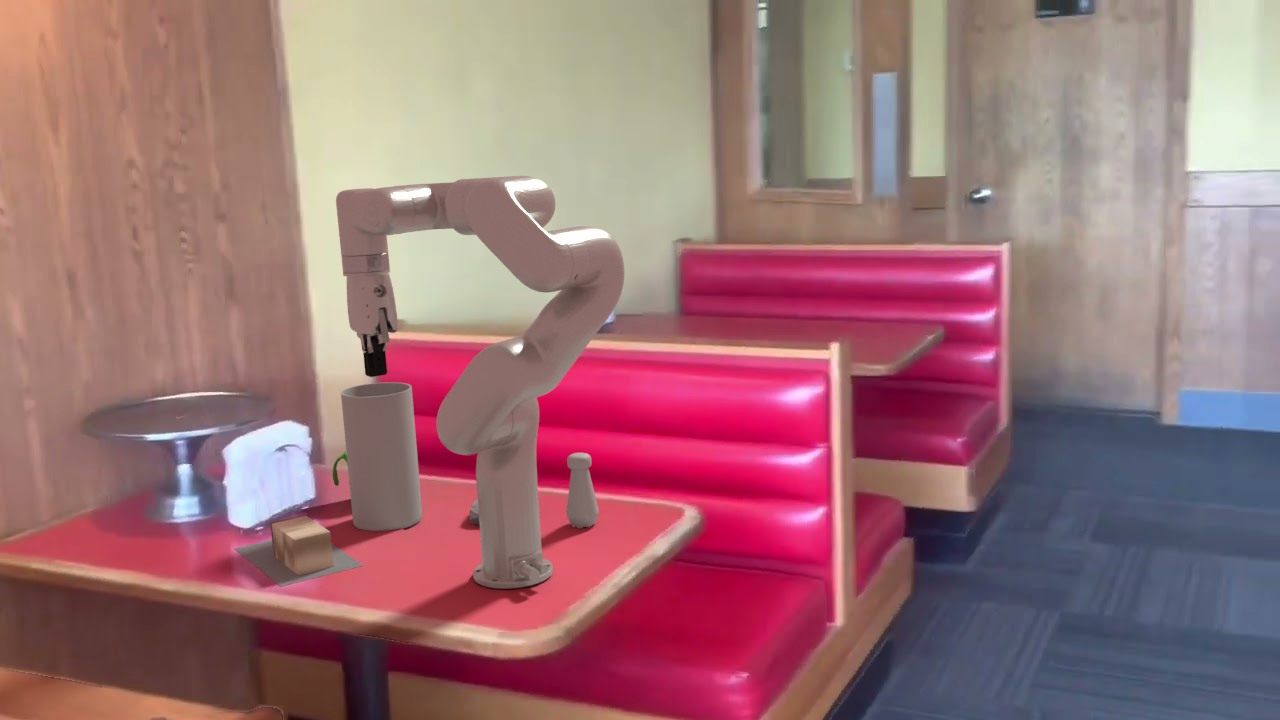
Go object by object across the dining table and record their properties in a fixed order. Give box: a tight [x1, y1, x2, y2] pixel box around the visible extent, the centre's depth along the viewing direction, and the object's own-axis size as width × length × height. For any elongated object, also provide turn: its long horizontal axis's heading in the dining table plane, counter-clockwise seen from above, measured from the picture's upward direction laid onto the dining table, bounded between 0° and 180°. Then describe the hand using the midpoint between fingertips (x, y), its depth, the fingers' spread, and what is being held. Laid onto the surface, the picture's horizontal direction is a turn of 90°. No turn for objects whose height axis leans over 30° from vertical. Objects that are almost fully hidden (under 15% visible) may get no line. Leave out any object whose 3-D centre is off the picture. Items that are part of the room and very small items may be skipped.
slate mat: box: [234, 539, 364, 587], centre depth 209 cm, size 24×14×1 cm, turn 35°
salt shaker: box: [565, 452, 600, 529], centre depth 219 cm, size 6×6×13 cm
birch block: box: [269, 514, 334, 575], centre depth 206 cm, size 6×6×12 cm
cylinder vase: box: [340, 381, 423, 532], centre depth 225 cm, size 12×12×25 cm
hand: (376, 375), depth 205 cm, fingers closed
